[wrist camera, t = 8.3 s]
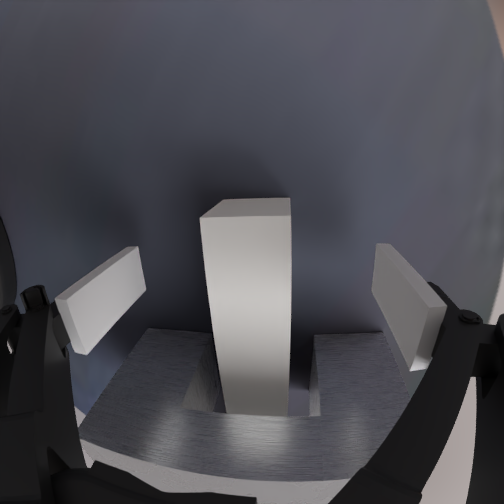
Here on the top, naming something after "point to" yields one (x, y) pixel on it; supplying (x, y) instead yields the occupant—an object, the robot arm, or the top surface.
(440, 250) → the top surface
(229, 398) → the white and orange bar
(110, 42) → the top surface
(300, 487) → the grey arch-shaped block
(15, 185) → the top surface
